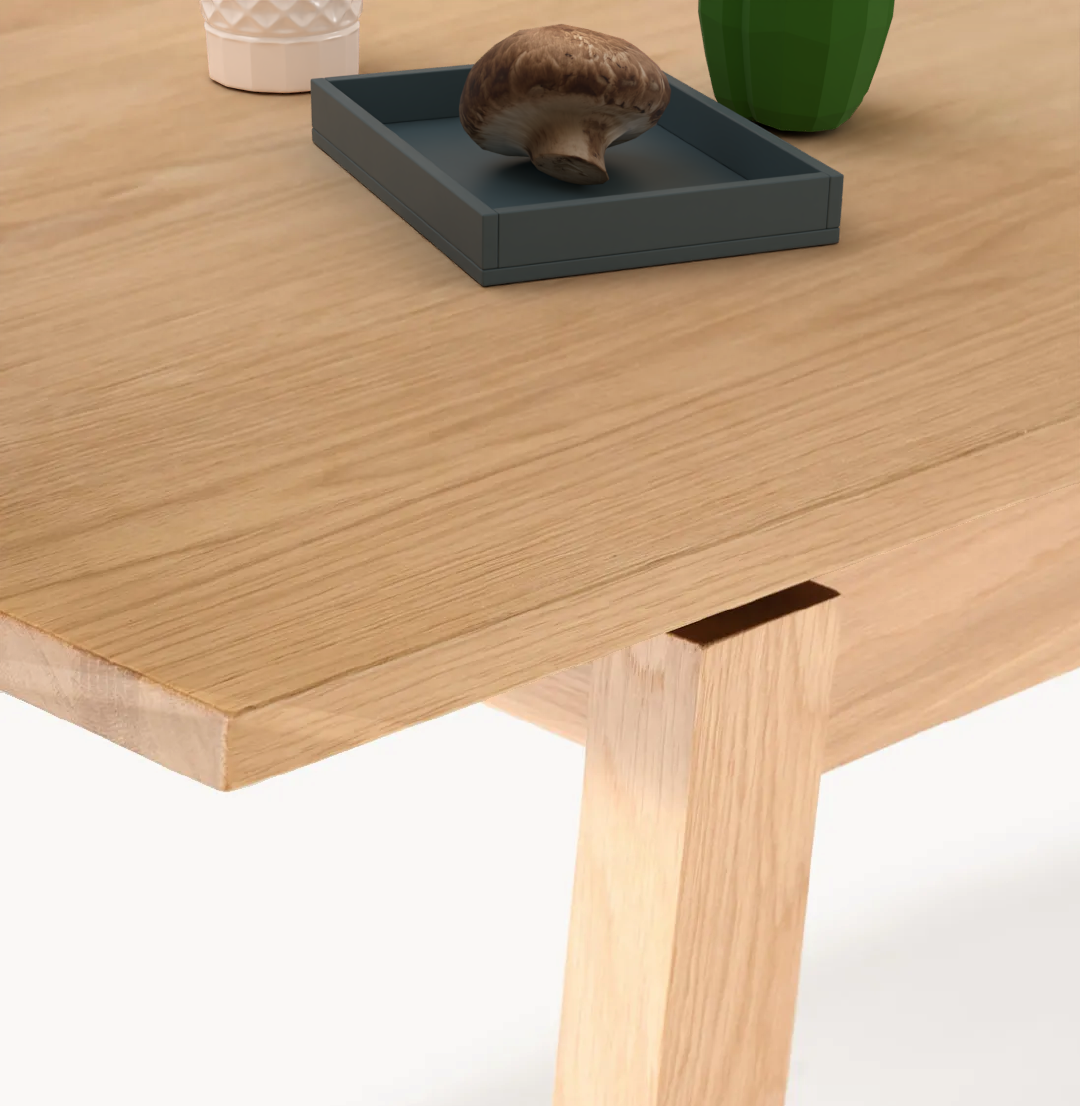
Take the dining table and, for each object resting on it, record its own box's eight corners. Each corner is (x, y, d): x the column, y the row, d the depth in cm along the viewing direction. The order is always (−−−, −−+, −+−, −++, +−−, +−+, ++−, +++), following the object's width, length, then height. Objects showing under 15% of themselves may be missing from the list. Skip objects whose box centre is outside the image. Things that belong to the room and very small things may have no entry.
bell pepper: (712, 86, 113) (724, -148, 108) (896, 102, 111) (916, -136, 106) (670, 136, 106) (680, -112, 101) (866, 154, 104) (886, -98, 99)
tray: (482, 287, 89) (482, 214, 87) (311, 141, 104) (309, 78, 103) (839, 243, 94) (844, 174, 92) (625, 110, 109) (627, 49, 108)
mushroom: (630, 135, 92) (603, -28, 92) (437, 196, 95) (413, 38, 96) (712, 188, 99) (686, 36, 100) (530, 243, 102) (507, 96, 103)
